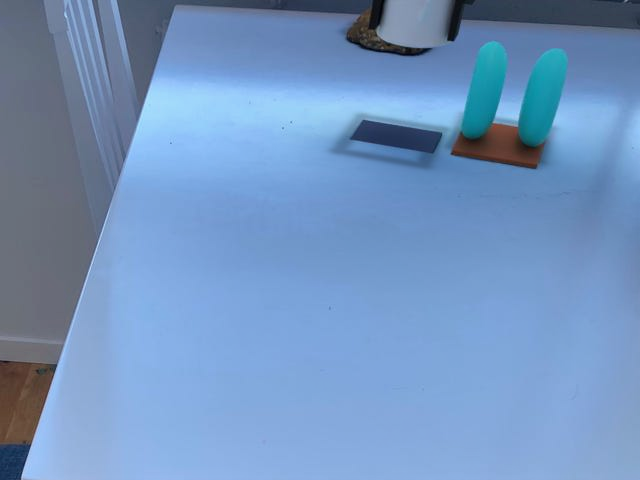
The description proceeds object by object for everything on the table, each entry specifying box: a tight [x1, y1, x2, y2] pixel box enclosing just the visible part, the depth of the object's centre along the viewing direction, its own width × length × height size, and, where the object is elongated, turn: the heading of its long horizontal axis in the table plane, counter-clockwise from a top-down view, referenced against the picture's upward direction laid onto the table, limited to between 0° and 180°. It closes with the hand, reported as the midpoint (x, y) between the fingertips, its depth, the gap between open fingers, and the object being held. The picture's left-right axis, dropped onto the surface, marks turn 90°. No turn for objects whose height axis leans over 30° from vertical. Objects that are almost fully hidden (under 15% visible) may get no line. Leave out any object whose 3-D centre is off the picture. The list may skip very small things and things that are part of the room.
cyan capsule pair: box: [460, 41, 569, 147], centre depth 110 cm, size 10×10×10 cm
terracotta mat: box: [450, 122, 547, 170], centre depth 114 cm, size 10×11×1 cm
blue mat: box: [349, 119, 443, 154], centre depth 113 cm, size 10×12×1 cm
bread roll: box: [345, 5, 426, 55], centre depth 138 cm, size 13×12×5 cm
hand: (413, 31), depth 104 cm, fingers closed on mug, 8 cm apart
